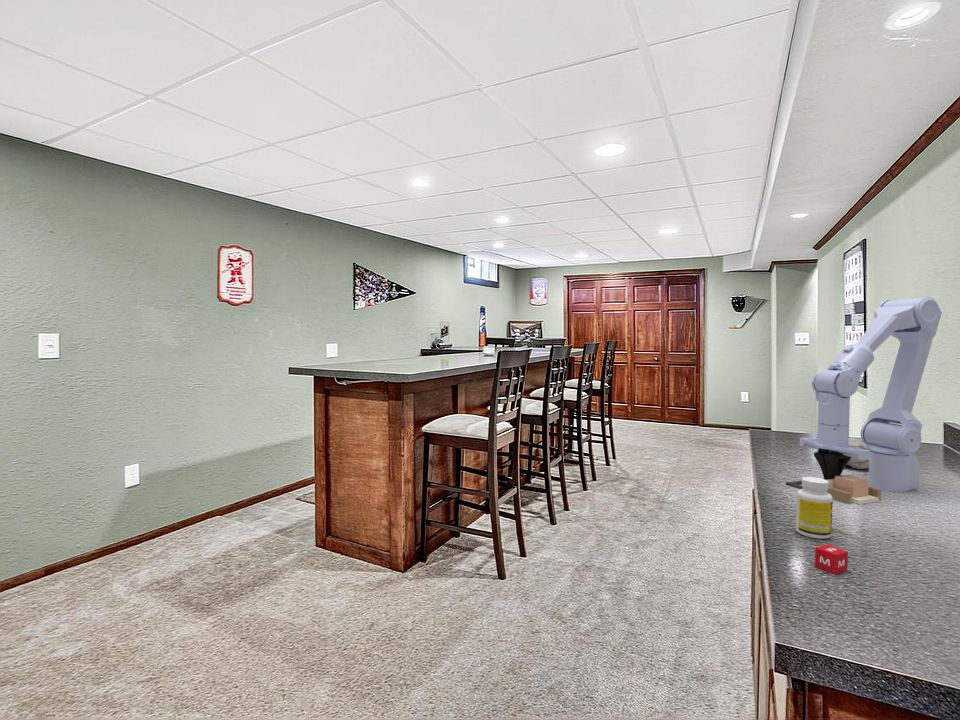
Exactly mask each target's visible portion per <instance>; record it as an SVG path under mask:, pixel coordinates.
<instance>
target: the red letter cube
mask: <svg viewBox="0 0 960 720" xmlns="http://www.w3.org/2000/svg"><path fill="white" fill-rule="evenodd" d="M814 549H815V550H814V552H815V554H814V567H816V568H818V569H821V570H823V571H825V572H828V573H830V574H833V575H838V574H841V573H845V572H848V567H849V566H848V563H849V558H848V557H849V552H848V551H847V550H844V549H841V548H838V547H836V546H833V545H830V544H824V545H820V546H816V547H815V548H814Z"/></svg>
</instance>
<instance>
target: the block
mask: <svg viewBox="0 0 960 720" xmlns="http://www.w3.org/2000/svg"><path fill="white" fill-rule="evenodd" d="M869 486H870V485H869V478H866V477H860V476H857V475H853V474H842V475H840V476H835V488H836V489H839V490H843V491H846V492H849V493H852V498H854V497H862V496H868V488H869Z"/></svg>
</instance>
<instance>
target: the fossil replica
mask: <svg viewBox="0 0 960 720" xmlns="http://www.w3.org/2000/svg"><path fill="white" fill-rule="evenodd" d="M849 445H852V446H855V447H858V448H861V449H865V450H869V449H866V446H867V445H866V444H864V443H863V441H862V440H854V439H850V438H849ZM869 452H870V450H869ZM846 466H850V467H852V468H853V469H855V468H856V469H855V470H865V469H869V460H859V459H858V458H854V457H851V459H850V460H849V462H848V463H847V464H846Z"/></svg>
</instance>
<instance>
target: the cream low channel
mask: <svg viewBox="0 0 960 720" xmlns="http://www.w3.org/2000/svg"><path fill="white" fill-rule="evenodd" d="M827 481H828V482H829V487H832V488H835V479H829V480H827ZM879 501H880V500H879V498H878V497H874V496H871V495H868V496H862V497H854V498H852V504H857V505H864V504H870V503H871V504H872V503H878V502H879Z"/></svg>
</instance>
